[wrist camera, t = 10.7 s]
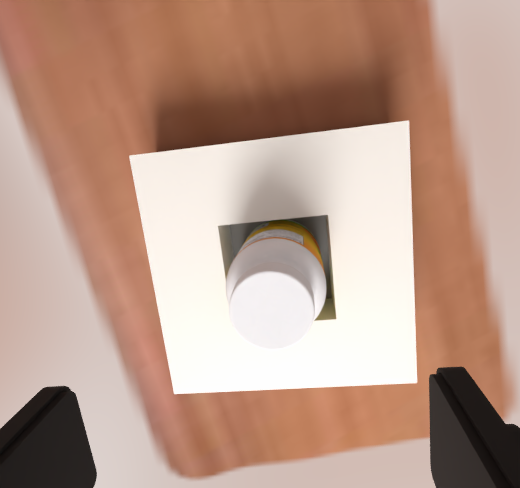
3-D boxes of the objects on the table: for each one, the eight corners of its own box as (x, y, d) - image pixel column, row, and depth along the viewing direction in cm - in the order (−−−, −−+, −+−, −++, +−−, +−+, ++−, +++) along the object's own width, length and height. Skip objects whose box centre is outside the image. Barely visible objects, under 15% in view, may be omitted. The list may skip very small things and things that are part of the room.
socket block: (156, 154, 27) (129, 155, 23) (390, 125, 25) (409, 120, 21) (191, 359, 31) (174, 394, 27) (399, 347, 29) (416, 382, 25)
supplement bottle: (315, 296, 28) (322, 372, 18) (240, 286, 28) (209, 356, 19) (325, 222, 26) (339, 263, 17) (246, 213, 27) (217, 248, 17)
